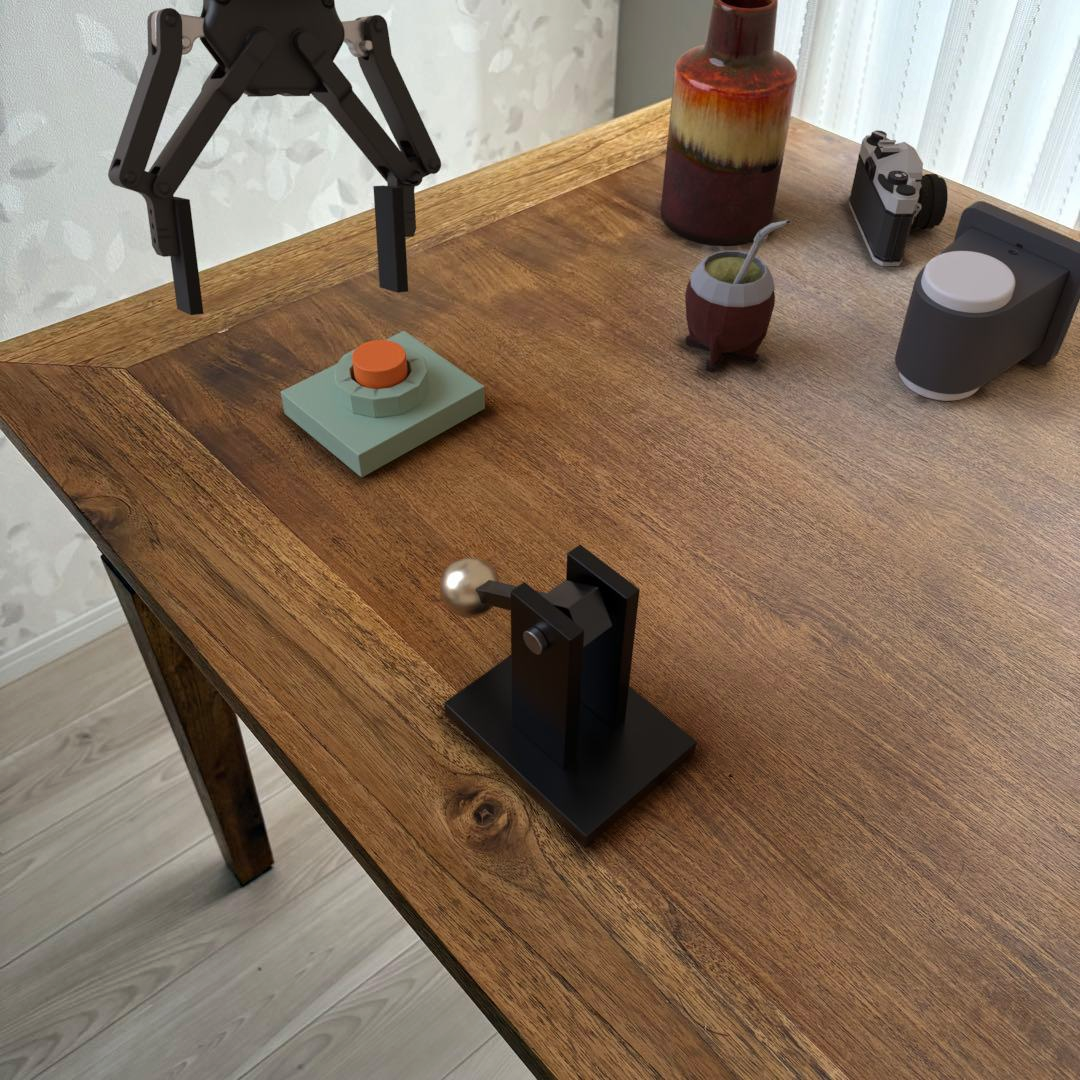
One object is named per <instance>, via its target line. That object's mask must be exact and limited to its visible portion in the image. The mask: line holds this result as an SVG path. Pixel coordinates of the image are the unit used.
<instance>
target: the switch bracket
mask: <svg viewBox="0 0 1080 1080" xmlns="http://www.w3.org/2000/svg"><path fill="white" fill-rule="evenodd" d="M565 575H566V576H565V580H568V581H572V582H577V583H582V584H587V585H592V586H596V587H599V590H600V592H601V595H602V598H603V601H604V603H605V606H606V609H607V611H608V614H609V617H610V619H611V622H612V625H613V626H612V627H611V628H609V629H608V630H606V631H605V632H604V633H602V634H601V635H600V636H598V637H597V638H596V639H594V640H593V641H592V642H590V643H589V644H588V645H586V646H585V647H583V644H584V629H582V628H581V627H580V626H579V625H577V624H576V623H575V622H574V621H572V620H571V619H570V618H569V617H567V616H566V615H565V614H564V613H562V612H561V611H560V610H559V609H558V608H556V607H555V606H554V605H553V604H551V603H550V602H549V601H548V600H546V599H545V598H544V597H543V596H541V595H540V594H539V593H538V592H537V591H538V590H536V589H534V588H533V587H532V586H530V585H529V584H528V583H527V582H525V581H523V582H522V583H521V584H519V585H517V586H518V587H516V588H515V589H513V590H512V591H511V592H510V594H511V611H510V654H509V656H507V657H506V658H505V659H503V660H501V661H500V662H499V663H497V664H496V665H495V666H493V667H492V668H491V669H489V670H488V671H486V672H485V673H483V674H482V675H481V676H479V677H478V678H477V679H474V681H472V682H471V683H469V684H468V685H467V686H465V687H464V688H462V689H461V690H459V692H457V693H456V694H454V695H452V697H450V698H448V699H446V701H445V702H443V705H444V715H445V717H446V718H447V719H449V721H450V722H452V724H454V726H456V727H457V728H458V729H459V730H460V731H461V732H462V733H463V735H465V736H466V737H467V738H468V739H469V740H471V742H473V744H475V745H476V746H477V747H478V748H479V749H480V750H481V751H482V752H483V753H484V754H485V755H487V757H488V758H489V759H490V760H491V761H492V762H493V763H495V765H497V766H498V767H499V768H500V769H501V770H502V771H503V772H504V773H505V774H506V775H507V776H509V778H510V779H512V780H513V782H515V783H516V784H517V785H518V786H519V787H520V788H521V789H522V790H523V791H524V792H525V793H526V794H527V795H528V796H530V797H531V798H532V799H533V800H534V802H536V803H537V804H538V805H539V806H540V807H541V808H542V809H543V810H544V811H545V812H546V813H547V814H548V815H549V816H550V817H552V819H554V820H555V821H556V822H557V823H558V824H559V825H560V826H561V827H562V828H563V829H564V830H565V831H566V832H567V833H568V834H569V835H570V836H571V837H573V838H574V839H575V840H576V842H578V843H579V844H580V845H581V846H582V847H583V848H584V849H587V848H588V847H589V846H590V845H591V844H593V843H594V842H595V841H596V840H597V839H598V838H600V836H602V835H603V834H604V833H605V832H607V830H609V829H610V828H611V827H612V826H613V825H614V824H616V823H617V822H618V821H619V820H620V819H621V818H623V817H624V816H625V815H626V814H627V813H628V812H629V811H631V810H632V809H633V808H634V807H635V806H637V805H638V804H639V803H640V802H641V801H642V800H643V799H644V798H646V797H647V796H648V795H649V794H651V792H653V791H654V790H655V789H656V788H657V787H658V786H659V785H661V784H662V783H663V782H664V781H665V780H667V778H669V777H670V776H671V775H672V774H673V773H675V772H676V770H678V769H679V768H680V767H681V766H682V765H684V764H685V763H687V761H688V760H689V759H691V758H692V757H693V756H694V755H695V753H696V748H697V744H698V741H697V740H696V739H694V738H693V737H692V736H691V735H689V734H688V733H687V732H686V731H685V730H683V729H682V728H681V727H680V726H679V725H677V724H676V723H675V722H674V721H673V720H671V719H670V718H669V717H667V715H665V714H664V713H663V712H662V711H660V710H659V709H658V708H657V707H656V706H654V705H653V704H652V703H651V702H650V701H648V700H647V699H646V698H645V697H643V696H642V695H641V694H640V693H639V692H637V691H636V690H635V689H634V688H632V686H630V681H631V672H632V663H633V655H634V645H635V635H636V628H637V627H636V626H637V618H638V609H639V602H640V601H639V600H640V591H641V590H640V588H638V587H637V586H636V585H634V584H633V583H632V582H631V581H629V580H628V579H627V578H625V577H624V576H623V575H621V574H620V573H618V572H617V570H615V569H613V568H612V567H611V566H610V565H608V564H607V563H606V562H604V561H603V560H602V559H600V558H599V557H597V555H595V554H593V553H592V552H591V551H589V550H588V549H587V548H586V547H584V546H583V545H582V544H578V545H577V546H576V547H573V549H571V550H569V551H568V552H567V554H566V574H565ZM535 590H536V591H535Z"/></svg>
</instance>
